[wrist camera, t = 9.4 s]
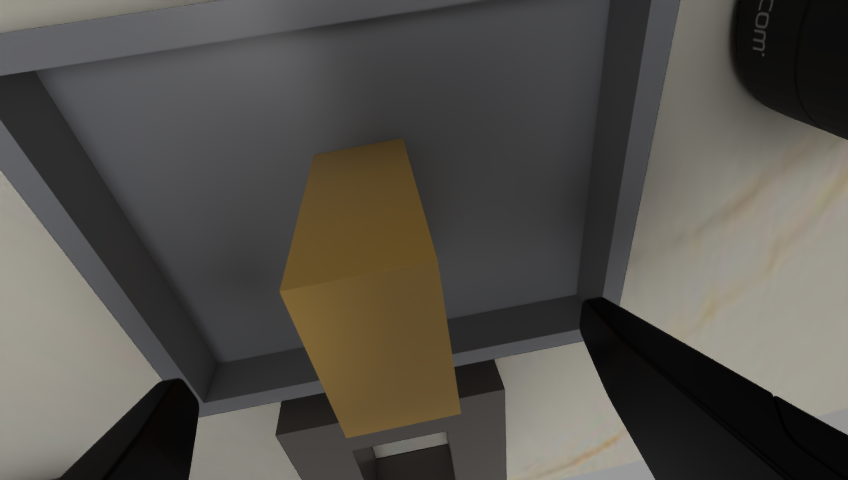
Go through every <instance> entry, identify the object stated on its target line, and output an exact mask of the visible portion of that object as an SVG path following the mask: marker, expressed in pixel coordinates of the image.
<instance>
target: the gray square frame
mask: <svg viewBox="0 0 848 480" xmlns="http://www.w3.org/2000/svg"><path fill="white" fill-rule="evenodd" d="M454 370H455V376H456V383H457V389H458V396H459V402H460V409H461V414H458V415H453V416H449V417H444V418H439V419H435V420H430V421H425V422H421V423H416V424H411V425H407V426H402V427H397V428H393V429H388V430H383V431H379V432H374V433H369V434H365V435H360V436H355V437H351V438H346V437H345V435H344V432H343V430H342V428H341V426H340V424H339V421H338V419H337V417H336V415H335V413H334V410H333V408H332V406H331V404H330V402H329V399H328V397H327V395H326V393H320V394H315V395H310V396H305V397H300V398H295V399H290V400H285V401H282V402H281V408H280V413H279V419H278V425H277V430H276V437H277V439H278V441H279V442H280V444H281V446H282V447H283V449H284V451H285V452H286V454H287V456H288V457H289V459H290V461H291V463H292V464H293V466H294V468H295V469H296V471H297V473H298V474H299V476H300V478H301V479H302V480H507V473H506V424H505V389H504V386H503V383H502V380H501V377H500V375H499V372H498V369H497V366H496V364H495V361H494V359H491V360H486V361H481V362H476V363H471V364H466V365H461V366H456V367H454ZM445 431H446V434H447V440H448V445H443V446H438V447H433V448H428V449H423V450H419V451H414V452H409V453H404V454H399V455H395V456H390V457H385V458H380V459H376V458H375V455H374V452H373V450H372V446H377V445H382V444H386V443H391V442H396V441H401V440H406V439H411V438H416V437H420V436H425V435H430V434H435V433H440V432H445Z"/></svg>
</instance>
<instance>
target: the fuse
mask: <svg viewBox="0 0 848 480" xmlns="http://www.w3.org/2000/svg"><path fill="white" fill-rule="evenodd" d="M279 292H280V294H281V296H282V298H283V301H284V303H285V305H286V307H287V309H288V312H289V314H290V316H291V318H292V320H293V323H294V325H295V327H296V329H297V331H298V334H299V336H300V338H301V340H302V342H303V345H304V347H305V349H306V351H307V353H308V356H309V358H310V360H311V362H312V364H313V367H314V369H315V371H316V373H317V375H318V378H319V380H320V382H321V384H322V386H323V388H324V391H325V393H326V395H327V397H328V399H329V402H330V404H331V406H332V408H333V410H334V413H335V415H336V417H337V419H338V421H339V424H340V426H341V428H342V430H343V432H344V435H345V437H346V438H351V437H355V436H360V435H365V434H369V433H374V432H379V431H383V430H388V429H393V428H397V427H402V426H407V425H411V424H416V423H421V422H425V421H430V420H435V419H439V418H444V417H449V416H453V415H458V414H461V409H460V402H459V396H458V389H457V383H456V376H455V370H454V363H453V357H452V350H451V344H450V337H449V331H448V324H447V318H446V311H445V305H444V298H443V292H442V285H441V279H440V272H439V266H438V260H437V256H436V253H435V249H434V246H433V242H432V239H431V235H430V232H429V228H428V225H427V221H426V218H425V214H424V211H423V207H422V204H421V200H420V197H419V193H418V190H417V186H416V183H415V179H414V176H413V172H412V169H411V165H410V162H409V158H408V155H407V151H406V148H405V144H404V141H403V138H401V139H396V140H391V141H385V142H380V143H375V144H369V145H364V146H358V147H353V148H348V149H342V150H337V151H332V152H326V153H321V154H316V155H313V159H312V163H311V167H310V171H309V175H308V179H307V183H306V187H305V191H304V195H303V199H302V203H301V207H300V211H299V215H298V219H297V223H296V227H295V231H294V235H293V239H292V243H291V247H290V251H289V255H288V259H287V263H286V267H285V271H284V275H283V279H282V283H281V287H280V291H279Z"/></svg>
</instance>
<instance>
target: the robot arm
mask: <svg viewBox="0 0 848 480" xmlns="http://www.w3.org/2000/svg"><path fill="white" fill-rule="evenodd" d="M579 328H580V333H581V336H582V338H583V340H584V342H585V345H586V347H587V349H588V352H589V354H590V356H591V359H592V361H593V363H594V365H595V368H596V370H597V372H598V375H599V377H600V379H601V382H602V384H603V386H604V388H605V390H606V393H607V395H608V397H609V399H610V400H611V402H612V404H613V406H614V408H615V410H616V411H617V413H618V415H619V417H620V418H621V420H622V422H623V424H624V425H625V427H626V429H627V431H628V432H629V434H630V436H631V438H632V439H633V441H634V443H635V445H636V446H637V448H638V450H639V452H640V453H641V455H642V457H643V459H644V460H645V462H646V464H647V466H648V467H649V469H650V471H651V473H652V474H653V476H654V478H655V480H848V435H847V434H845V433H843V432H841V431H839V430H837V429H835V428H833V427H831V426H830V425H828V424H826V423H824V422H822V421H821V420H819V419H817V418H815V417H814V416H812V415H810V414H808V413H806V412H804V411H803V410H801V409H799V408H797V407H796V406H794V405H792V404H790V403H788V402H787V401H785V400H783V399H781V398H780V397H778V396H774V397H773V395H772V393H771V392H769V391H767V390H765V389H764V388H762V387H760V386H758V385H757V384H755V383H753V382H751V381H750V380H748V379H746V378H744V377H743V376H741V375H739V374H737V373H736V372H734V371H732V370H730V369H729V368H727V367H725V366H723V365H722V364H720V363H718V362H716V361H715V360H713V359H711V358H709V357H708V356H706V355H704V354H702V353H701V352H699V351H697V350H695V349H694V348H692V347H690V346H688V345H687V344H685V343H683V342H681V341H679V340H678V339H676V338H674V337H672V336H671V335H669V334H667V333H665V332H664V331H662V330H660V329H658V328H657V327H655V326H653V325H651V324H650V323H648V322H646V321H644V320H643V319H641V318H639V317H637V316H636V315H634V314H632V313H630V312H629V311H627V310H625V309H623V308H622V307H620V306H618V305H616V304H615V303H613V302H611V301H609V300H608V299H606V298H604V297H594V298H589V299H585V300H584V301H583V302H582V307H581V315H580V323H579ZM198 416H199V402H198V399H197V398H196V396H195V395H194V394H193V392H192V391H191V389H190V388H189V387H188V385H187V384H186V383H185V381H184V380H183V379H181V378H174V379H169V380H164V381H161V382H159V383H157V384H156V385H155V386H154V387H153V388H152V389H151V390H150V391H149V392H148V393H147V394H146V395H145V396H144V397H143V398H142V399H141V400H140V401H139V402H138V403H136V404H135V405H134V406H133V407H132V408H131V409H130V410H129V411H128V412H127V413H126V414H125V415H124V416H123V417H122V418H121V419H120V420H119V421H118V422H117V423H116V424H115V425H114V426H113V427H112V428H111V429H110V430H109V431H107V432H106V433H105V434H104V435H103V436H102V437H101V438H100V439H99V440H98V441H97V442H96V443H95V444H94V445H93V446H92V447H91V448H90V449H89V450H88V451H87V452H86V453H85V454H84V455H83V456H82V457H81V458H80V459H78V460H77V461H76V462H75V463H74V464H73V465H72V466H71V467H70V468H69V469H68V470H67V471H66V472H65V473H64V474H63V475H62V476H61V477H60V478H59V479H58V480H188V479H189V474H190V468H191V462H192V455H193V449H194V442H195V436H196V429H197V423H198Z"/></svg>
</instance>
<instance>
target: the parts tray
mask: <svg viewBox="0 0 848 480" xmlns="http://www.w3.org/2000/svg"><path fill="white" fill-rule="evenodd" d="M679 4H680V0H218V1H212V2H205V3H198V4H192V5H185V6H179V7H172V8H165V9H159V10H152V11H146V12H139V13H132V14H126V15H119V16H112V17H106V18H99V19H93V20H86V21H79V22H73V23H66V24H59V25H53V26H46V27H40V28H33V29H26V30H20V31H13V32H7V33H0V170H1V171H2V173H3V174H4V175H5V177H6V178H7V179H8V180H9V182H10V183H11V184H12V186H13V187H14V188H15V189H16V191H17V192H18V193H19V195H20V196H21V197H22V199H23V200H24V201H25V202H26V204H27V205H28V206H29V208H30V209H31V210H32V212H33V213H34V214H35V215H36V217H37V218H38V219H39V221H40V222H41V223H42V224H43V226H44V227H45V228H46V230H47V231H48V232H49V234H50V235H51V236H52V237H53V239H54V240H55V241H56V243H57V244H58V245H59V246H60V248H61V249H62V250H63V252H64V253H65V254H66V256H67V257H68V258H69V259H70V261H71V262H72V263H73V265H74V266H75V267H76V269H77V270H78V271H79V272H80V274H81V275H82V276H83V278H84V279H85V280H86V281H87V283H88V284H89V285H90V287H91V288H92V289H93V291H94V292H95V293H96V294H97V296H98V297H99V298H100V300H101V301H102V302H103V304H104V305H105V306H106V307H107V309H108V310H109V311H110V313H111V314H112V315H113V316H114V318H115V319H116V320H117V322H118V323H119V324H120V326H121V327H122V328H123V329H124V331H125V332H126V333H127V335H128V336H129V337H130V338H131V340H132V341H133V342H134V344H135V345H136V346H137V348H138V349H139V350H140V351H141V353H142V354H143V355H144V357H145V358H146V359H147V361H148V362H149V363H150V364H151V366H152V367H153V368H154V370H155V371H156V372H157V373H158V375H159V376H160V377H161V379H162V380H163V381H164V380H169V379H174V378H181V379H183V380H184V381H185V383H186V384H187V385H188V387H189V388H190V389H191V391H192V392H193V394H194V395H195V396H196V398H197V399H198V402H199V416H198V418H199V417H204V416H209V415H214V414H219V413H224V412H229V411H234V410H239V409H244V408H250V407H255V406H260V405H265V404H270V403H275V402H280V401H285V400H290V399H295V398H300V397H305V396H310V395H315V394H320V393H325V391H324V388H323V386H322V384H321V382H320V380H319V378H318V375H317V373H316V371H315V369H314V367H313V364H312V362H311V360H310V358H309V356H308V353H307V351H306V349H305V347H304V345H303V342H302V340H301V338H300V336H299V334H298V331H297V329H296V327H295V325H294V323H293V320H292V318H291V316H290V314H289V312H288V309H287V307H286V305H285V303H284V301H283V298H282V296H281V294H280V292H279V291H280V287H281V283H282V279H283V275H284V271H285V267H286V263H287V259H288V255H289V251H290V247H291V243H292V239H293V235H294V231H295V227H296V223H297V219H298V215H299V211H300V207H301V203H302V199H303V195H304V191H305V187H306V183H307V179H308V175H309V171H310V167H311V163H312V159H313V155H316V154H321V153H326V152H332V151H337V150H342V149H348V148H353V147H358V146H364V145H369V144H375V143H380V142H385V141H391V140H396V139H401V138H403V141H404V144H405V148H406V151H407V155H408V158H409V162H410V165H411V169H412V172H413V176H414V179H415V183H416V186H417V190H418V193H419V197H420V200H421V204H422V207H423V211H424V214H425V218H426V221H427V225H428V228H429V232H430V235H431V239H432V242H433V246H434V249H435V253H436V256H437V260H438V266H439V272H440V279H441V285H442V292H443V298H444V305H445V311H446V318H447V324H448V331H449V337H450V344H451V350H452V357H453V363H454V367H456V366H461V365H466V364H471V363H476V362H481V361H486V360H491V359H496V358H501V357H506V356H511V355H516V354H521V353H526V352H531V351H536V350H542V349H547V348H552V347H557V346H562V345H567V344H572V343H577V342H582V341H584V340H583V338H582V336H581V333H580V328H579V323H580V315H581V307H582V302H583V301H584V300H585V299H589V298H594V297H604V298H606V299H608V300H609V301H611V302H613V303H615V304H616V305H618V306H619V305H620V300H621V295H622V290H623V285H624V280H625V275H626V270H627V265H628V260H629V255H630V250H631V245H632V240H633V235H634V230H635V225H636V220H637V215H638V210H639V205H640V200H641V195H642V190H643V185H644V180H645V175H646V170H647V165H648V160H649V155H650V150H651V145H652V140H653V135H654V130H655V125H656V120H657V115H658V110H659V105H660V100H661V95H662V90H663V85H664V79H665V74H666V69H667V64H668V59H669V54H670V49H671V44H672V39H673V34H674V29H675V24H676V19H677V14H678V9H679Z"/></svg>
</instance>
